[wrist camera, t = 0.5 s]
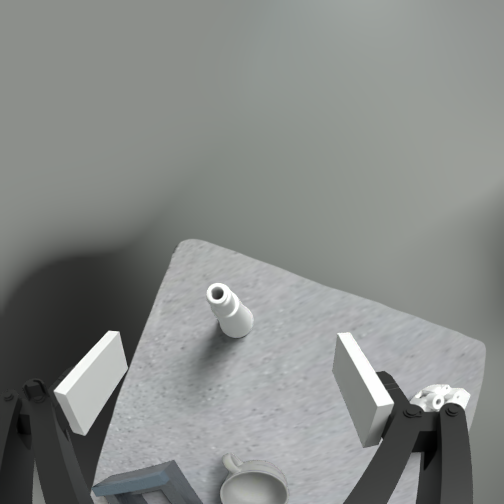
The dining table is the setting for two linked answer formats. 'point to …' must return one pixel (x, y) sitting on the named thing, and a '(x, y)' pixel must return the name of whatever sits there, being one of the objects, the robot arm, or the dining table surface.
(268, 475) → the teacup
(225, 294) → the cosmetic bottle
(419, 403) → the mechanical part
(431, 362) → the dining table surface
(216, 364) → the dining table surface
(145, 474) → the jig
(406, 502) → the dining table surface
